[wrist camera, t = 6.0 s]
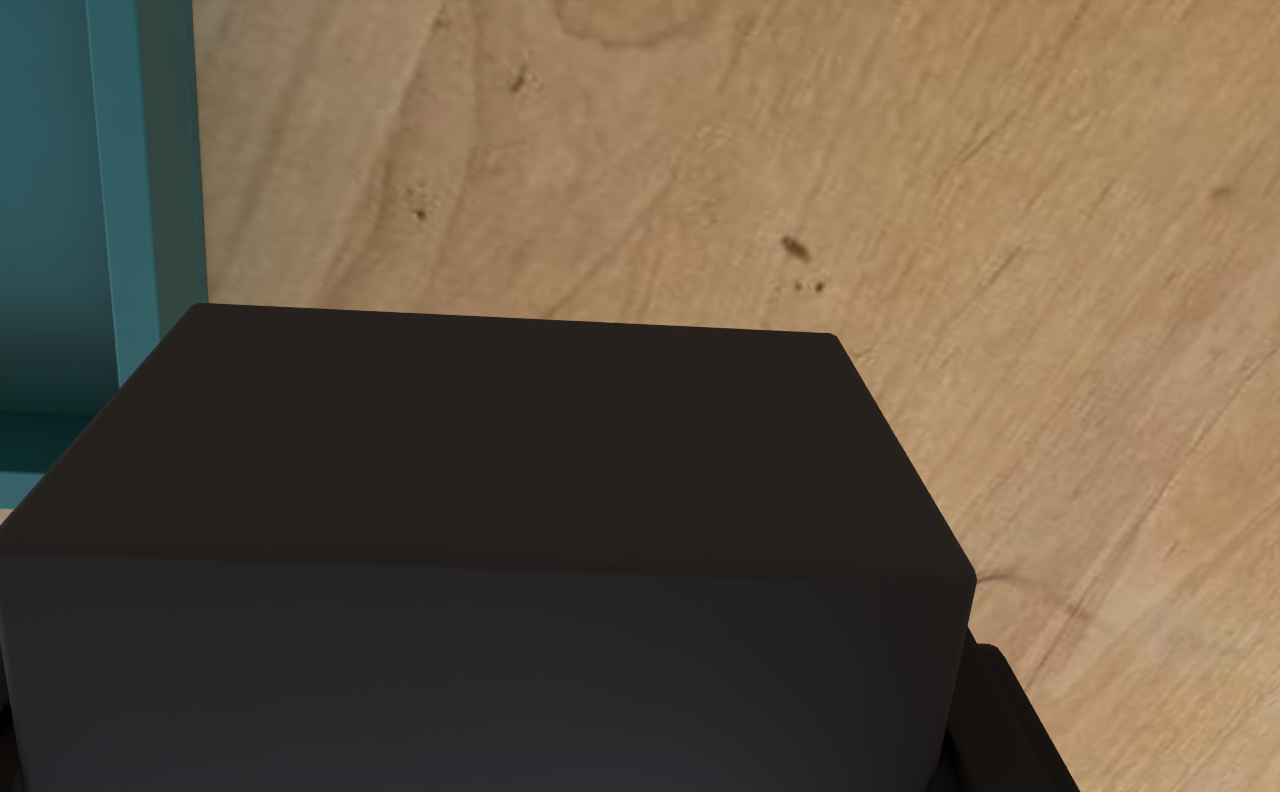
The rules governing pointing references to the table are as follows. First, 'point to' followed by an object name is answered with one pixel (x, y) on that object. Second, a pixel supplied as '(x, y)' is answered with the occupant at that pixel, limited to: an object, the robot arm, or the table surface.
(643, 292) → the table surface
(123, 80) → the holder
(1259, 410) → the table surface
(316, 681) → the dark grey block
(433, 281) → the table surface
